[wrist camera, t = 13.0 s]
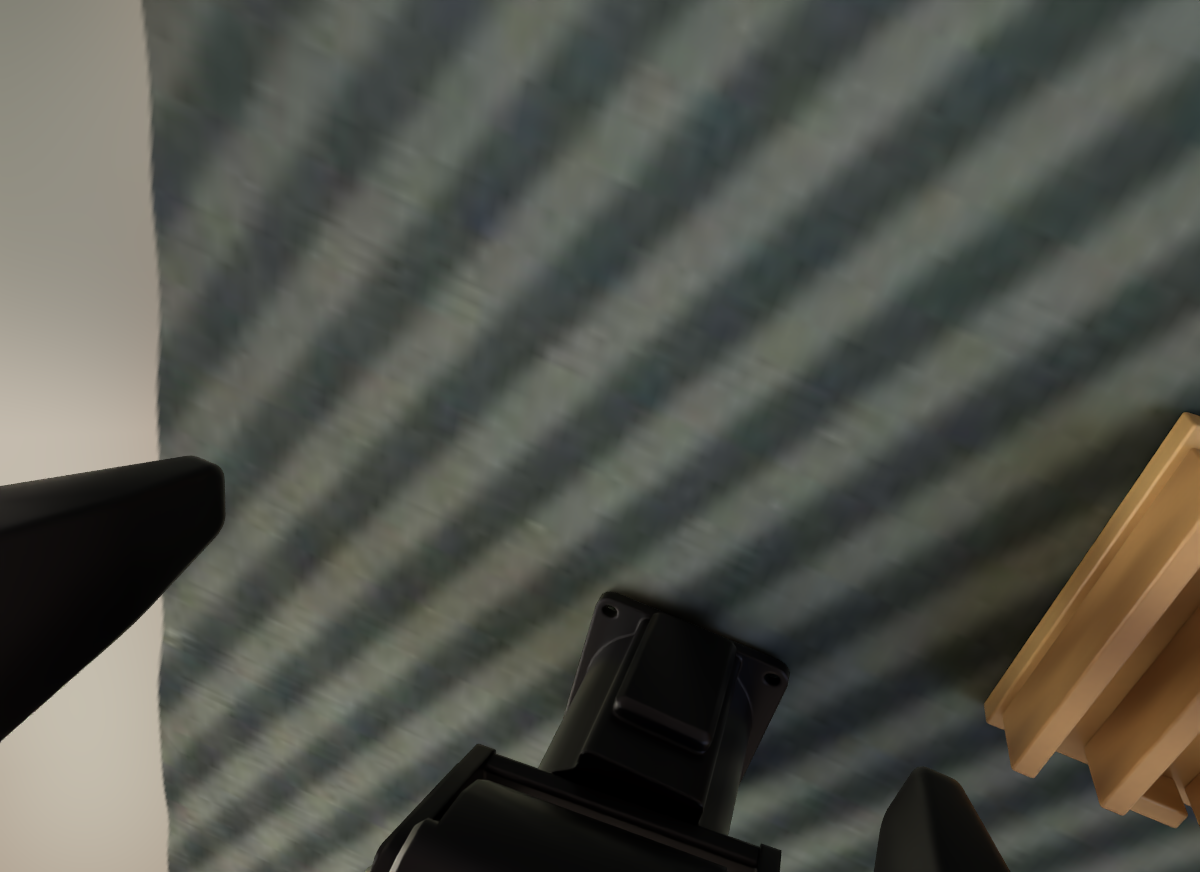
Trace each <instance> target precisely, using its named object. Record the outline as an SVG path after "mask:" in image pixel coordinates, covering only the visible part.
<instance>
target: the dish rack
mask: <svg viewBox="0 0 1200 872" xmlns="http://www.w3.org/2000/svg"><path fill="white" fill-rule="evenodd" d="M984 709H985V716H986V722H987V723H988V724H991V725H993V726H995V727H998V728H1000V729H1003V730H1005V735H1006V740H1007V746H1008V752H1009V757H1010V763H1011V768H1012V769H1013V770H1014V771H1016V772H1019V773H1021V774H1024V775H1026V776H1028V777H1031V778H1035V776H1036V775H1037V774H1038V773H1039V771H1040V770H1041V769H1042V768H1043V766H1044V765H1045V764H1046V762H1047V761H1048V760H1049V759H1050V757H1051V756H1052V755H1053V754H1054V752H1055V751H1057V752H1059V753H1061V754H1064V755H1066V756H1069V757H1071V758H1074V759H1076V760H1079V761H1081V762H1083V763H1086V764H1088V765H1089V769H1090V772H1091V776H1092V779H1093V783H1094V786H1095V789H1096V793H1097V796H1098V800H1099V803H1100V806H1101V807H1103V808H1105V809H1107V810H1110V811H1112V812H1114V813H1117V814H1119V815H1125V814H1126V813H1127V812H1128V811H1129V810H1132V811H1134V812H1137V813H1139V814H1142V815H1144V816H1146V817H1149V818H1151V819H1154V820H1156V821H1158V822H1161V823H1163V824H1166V825H1168V826H1170V827H1173V828H1177V827H1178V826H1179V825H1180V824H1181V823H1182V822H1183V821H1184V820H1185V819H1186V818H1187V816H1188V813H1187V811H1186V808H1185V806H1184V804H1186V805H1188V806H1191V807H1192V809H1193V812H1194V814H1195V817H1196V819H1197V822H1198V824H1199V826H1200V416H1198V415H1195V414H1191V413H1188V412H1184V413H1183V414H1182V415H1181V416H1180V418H1179V419H1178V421H1177V422H1176V424H1175V425H1174V427H1173V428H1172V430H1171V431H1170V432H1169V434H1168V435H1167V437H1166V438H1165V440H1164V441H1163V443H1162V444H1161V446H1160V447H1159V449H1158V450H1157V451H1156V453H1155V454H1154V456H1153V457H1152V459H1151V460H1150V462H1149V463H1148V465H1147V466H1146V468H1145V469H1144V471H1143V472H1142V473H1141V475H1140V476H1139V478H1138V479H1137V481H1136V482H1135V484H1134V485H1133V487H1132V488H1131V490H1130V491H1129V492H1128V494H1127V495H1126V497H1125V498H1124V500H1123V501H1122V503H1121V504H1120V506H1119V507H1118V509H1117V510H1116V511H1115V513H1114V514H1113V516H1112V517H1111V519H1110V520H1109V522H1108V523H1107V525H1106V526H1105V528H1104V529H1103V531H1102V532H1101V533H1100V535H1099V536H1098V538H1097V539H1096V541H1095V542H1094V544H1093V545H1092V547H1091V548H1090V550H1089V551H1088V552H1087V554H1086V555H1085V557H1084V558H1083V560H1082V561H1081V563H1080V564H1079V566H1078V567H1077V569H1076V570H1075V571H1074V573H1073V574H1072V576H1071V577H1070V579H1069V580H1068V582H1067V583H1066V585H1065V586H1064V588H1063V589H1062V590H1061V592H1060V593H1059V595H1058V596H1057V598H1056V599H1055V601H1054V602H1053V604H1052V605H1051V607H1050V608H1049V610H1048V611H1047V612H1046V614H1045V615H1044V617H1043V618H1042V620H1041V621H1040V623H1039V624H1038V626H1037V627H1036V629H1035V630H1034V631H1033V633H1032V634H1031V636H1030V637H1029V639H1028V640H1027V642H1026V643H1025V645H1024V646H1023V648H1022V649H1021V650H1020V652H1019V653H1018V655H1017V656H1016V658H1015V659H1014V661H1013V662H1012V664H1011V665H1010V667H1009V668H1008V669H1007V671H1006V672H1005V674H1004V675H1003V677H1002V678H1001V680H1000V681H999V683H998V684H997V686H996V687H995V689H994V690H993V691H992V693H991V694H990V696H989V697H988V699H987V700H986V702H985V703H984Z"/></svg>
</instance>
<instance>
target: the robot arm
mask: <svg viewBox="0 0 1200 872" xmlns="http://www.w3.org/2000/svg"><path fill="white" fill-rule="evenodd" d="M224 521H225V481H224V473H223V471H222V469H221V468H220V467H219V466H218V465H216V464H213V463H211V462H209V461H206V460H204V459H201V458H199V457H196V456H183V457H177V458H171V459H165V460H159V461H152V462H146V463H140V464H134V465H128V466H122V467H116V468H109V469H103V470H97V471H91V472H85V473H78V474H72V475H66V476H61V477H54V478H48V479H41V480H35V481H29V482H23V483H17V484H11V485H5V486H0V742H1V741H3V740H4V739H5V738H6V737H7V736H8V735H9V734H11V733H12V732H13V731H14V730H15V729H16V728H17V727H18V726H20V724H22V723H23V722H24V721H25V720H26V719H27V718H29V717H30V716H31V715H32V714H33V713H34V712H35V711H36V710H37V709H39V708H40V707H41V706H42V705H43V704H44V703H45V702H47V701H48V700H49V699H50V698H51V697H52V696H53V695H54V694H55V693H57V692H58V691H59V690H60V689H61V688H62V687H64V686H65V685H66V684H67V683H68V682H69V681H70V680H71V679H73V678H74V677H75V676H76V675H77V674H78V673H79V672H80V671H82V670H83V669H84V668H85V667H86V666H87V665H88V664H89V663H91V662H92V661H93V660H94V659H95V658H96V657H97V656H98V655H99V654H101V653H102V652H103V651H104V650H105V649H106V648H108V647H109V646H110V645H111V644H112V643H113V642H114V641H115V640H117V639H118V638H119V637H120V636H121V635H122V634H123V633H124V632H125V631H126V630H127V629H129V628H130V627H131V626H132V625H133V624H134V623H135V622H136V621H137V620H138V619H139V618H140V617H141V616H142V615H143V614H144V613H145V612H146V611H147V610H148V609H149V608H150V607H151V606H152V605H153V604H154V603H155V601H156V600H157V599H158V598H159V597H160V596H161V595H162V594H163V593H164V592H165V591H166V590H167V589H168V588H169V586H170V585H171V584H172V583H173V582H174V581H175V580H176V579H177V578H178V577H179V576H180V575H181V574H182V573H183V572H184V570H185V569H186V568H187V567H188V566H189V565H190V564H191V563H192V562H193V561H194V560H195V559H196V558H197V557H198V555H199V554H200V553H201V552H202V551H203V550H204V549H205V548H206V547H207V546H208V545H209V544H210V543H211V542H212V540H213V539H214V538H215V537H216V536H217V535H218V534H219V532H220V530H221V529H222V527H223V524H224ZM607 605H611V606H613V607H615V609H616V611H615V610H611V609H610V608H608V606H607ZM768 673H773V674H776V675H777V676H778V677H776V678H774V677H771V676H769V675H768ZM789 675H790V672H789V669H788V667H787V666H786V665H785V663H783V662H781V661H780V660H778V659H775V658H773V657H770V656H768V655H766V654H763V653H761V652H758V651H756V650H754V649H751V648H749V647H746V646H744V645H742V644H739V643H737V642H734V641H732V640H729V639H727V638H725V637H722V636H720V635H717V634H715V633H713V632H710V631H708V630H705V629H703V628H701V627H698V626H696V625H693V624H691V623H688V622H686V621H684V620H681V619H679V618H676V617H674V616H672V615H669V614H667V613H664V612H662V611H660V610H657V609H655V608H652V607H650V606H648V605H645V604H643V603H640V602H638V601H635V600H633V599H631V598H628V597H626V596H623V595H621V594H619V593H616V592H606V593H604V594H602V596H601V597H600V599H599V601H598V602H597V604H596V607H595V610H594V613H593V617H592V620H591V624H590V627H589V631H588V634H587V638H586V641H585V644H584V648H583V651H582V655H581V658H580V662H579V665H578V669H577V672H576V676H575V679H574V682H573V686H572V689H571V693H570V696H569V700H568V703H567V707H566V710H565V713H564V717H563V720H562V722H561V724H560V726H559V728H558V730H557V732H556V734H555V736H554V738H553V740H552V742H551V744H550V746H549V748H548V750H547V752H546V754H545V756H544V758H543V759H542V761H541V763H540V765H539V767H538V768H535V767H532V766H530V765H527V764H524V763H521V762H518V761H515V760H513V759H510V758H507V757H504V756H501V755H499V754H496V750H495V749H492V748H489V747H486V746H484V745H481V744H477V745H476V746H475V747H474V748H473V749H472V750H471V751H470V752H469V753H468V754H467V755H466V756H465V757H464V758H463V759H462V760H461V761H460V762H459V763H458V764H456V766H455V767H454V768H453V769H452V770H451V771H450V772H449V773H448V774H447V775H446V776H445V777H444V778H443V779H442V780H441V781H440V783H439V784H438V785H437V786H436V787H435V788H434V789H433V790H432V791H431V792H430V793H429V794H428V795H427V796H426V797H425V798H424V800H423V801H422V802H421V803H420V804H419V805H418V806H417V807H416V808H415V809H414V810H413V811H412V812H411V813H410V814H409V815H408V817H407V818H406V819H405V820H404V821H403V822H402V823H401V824H400V825H399V826H398V827H397V828H396V829H395V830H394V831H393V832H392V834H391V835H390V836H389V837H388V838H387V839H386V840H385V841H384V842H383V843H382V844H381V846H380V847H379V849H378V851H377V853H376V855H375V858H374V861H373V864H372V865H371V866H370V867H368V868H367V869H366V871H365V872H780V862H781V850H778V849H776V848H773V847H770V846H767V845H764V844H761V845H760V847H758V846H755V845H753V844H750V843H747V842H744V841H741V840H739V839H736V838H733V837H730V836H728V834H729V829H730V824H731V820H732V815H733V810H734V806H735V801H736V796H737V792H738V787H739V784H740V782H741V780H742V778H743V776H744V774H745V772H746V770H747V768H748V766H749V764H750V762H751V760H752V758H753V756H754V753H755V751H756V749H757V747H758V745H759V743H760V741H761V739H762V737H763V735H764V733H765V731H766V729H767V727H768V725H769V723H770V721H771V719H772V717H773V715H774V713H775V711H776V709H777V707H778V704H779V702H780V700H781V698H782V696H783V694H784V692H785V690H786V688H787V686H788V681H789ZM874 872H1010V870H1009V869H1008V867H1007V865H1006V863H1005V862H1004V860H1003V858H1002V856H1001V854H1000V853H999V851H998V849H997V847H996V846H995V844H994V842H993V840H992V839H991V837H990V835H989V833H988V832H987V830H986V828H985V826H984V825H983V823H982V821H981V819H980V818H979V816H978V814H977V812H976V811H975V809H974V807H973V805H972V804H971V802H970V800H969V798H968V796H967V795H966V793H965V791H964V789H963V788H962V786H961V785H960V784H959V783H958V782H957V781H956V780H954V779H953V778H950V777H948V776H946V775H943V774H941V773H939V772H936V771H934V770H932V769H929V768H927V767H917V768H916V769H915V770H913V771H912V773H911V774H910V776H909V777H908V779H907V780H906V782H905V783H904V785H903V786H902V788H901V789H900V791H899V792H898V794H897V795H896V797H895V798H894V800H893V801H892V803H891V804H890V806H889V808H888V809H887V811H886V813H885V815H884V818H883V821H882V824H881V828H880V834H879V841H878V847H877V854H876V861H875V868H874Z"/></svg>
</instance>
